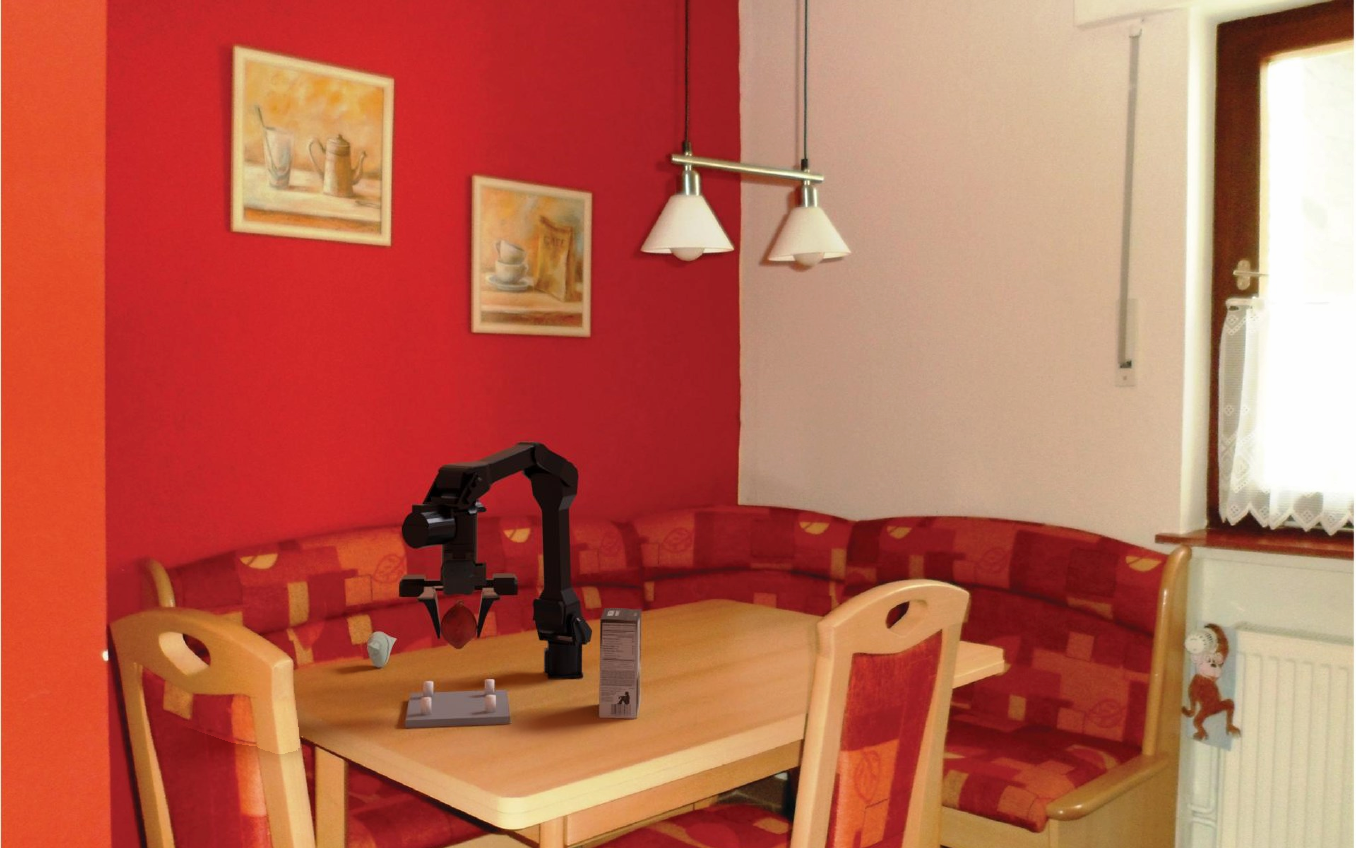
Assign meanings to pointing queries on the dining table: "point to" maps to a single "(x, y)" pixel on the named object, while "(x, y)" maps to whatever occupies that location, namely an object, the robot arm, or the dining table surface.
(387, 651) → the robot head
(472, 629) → the onion
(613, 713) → the coffee box
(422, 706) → the plate
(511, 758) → the dining table surface
